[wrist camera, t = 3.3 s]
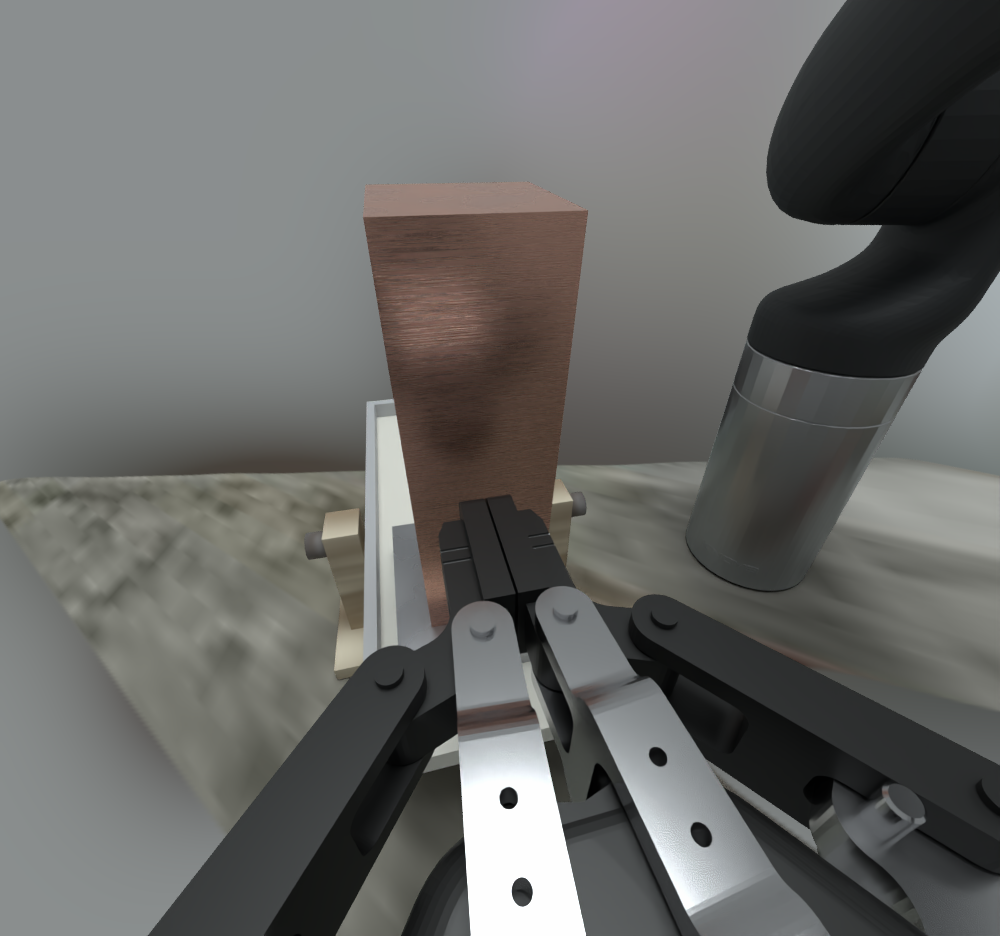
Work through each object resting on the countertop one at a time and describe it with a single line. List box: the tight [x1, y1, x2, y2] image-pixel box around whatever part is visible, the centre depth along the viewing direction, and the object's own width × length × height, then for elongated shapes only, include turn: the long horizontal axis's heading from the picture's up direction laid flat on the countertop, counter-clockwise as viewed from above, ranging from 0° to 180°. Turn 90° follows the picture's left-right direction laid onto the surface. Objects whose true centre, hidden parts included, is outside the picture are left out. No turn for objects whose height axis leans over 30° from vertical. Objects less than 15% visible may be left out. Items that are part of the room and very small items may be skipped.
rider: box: [363, 182, 588, 663], centre depth 17 cm, size 8×8×18 cm
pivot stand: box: [305, 479, 586, 680], centre depth 30 cm, size 8×18×9 cm, turn 103°
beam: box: [363, 399, 554, 773], centre depth 27 cm, size 26×10×3 cm, turn 13°
